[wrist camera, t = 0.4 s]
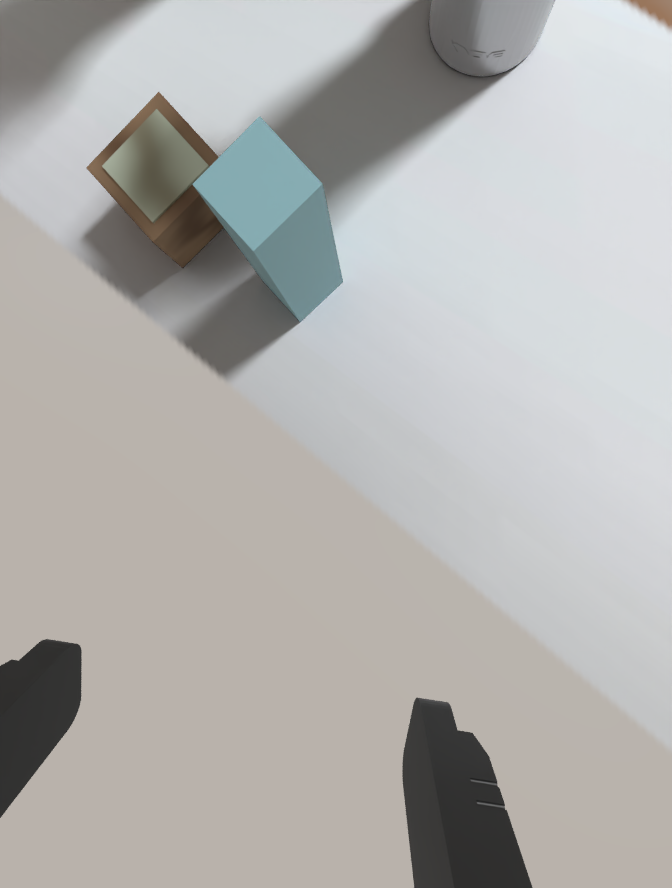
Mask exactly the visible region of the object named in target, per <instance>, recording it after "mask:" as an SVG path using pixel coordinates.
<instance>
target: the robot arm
mask: <svg viewBox="0 0 672 888" xmlns="http://www.w3.org/2000/svg"><path fill="white" fill-rule="evenodd" d="M554 2H555V0H432V2H431V9H430V19H429V29H430V37H431V40H432V43H433V45H434V48H435V50H436V51H437V53H438V54H439V56H440V57H441V59H442V60H444V61H445V62H446V63H447V64H448V65H449V66H450V67H452V68H454V69H455V70H457V71H459V72H461V73H464V74H468V75H472V76H490V75H496V74H499V73H502V72H505V71H507V70H509V69H511V68H513V67H514V66H516V65H518V64H519V63H520V62H521V61H522V60H524V59H525V58H526V57H527V56H528V55H529V53H530V52H531V51H532V50H533V48H534V47H535V46H536V44H537V42H538V40H539V38H540V36H541V34H542V31H543V29H544V26H545V24H546V22H547V19H548V17H549V14H550V12H551V10H552V7H553V5H554ZM80 701H81V647H80V646H79V645H78V644H74V643H68V642H61V641H55V640H48V639H46V640H43V641H41V642H39V643H38V644H37V645H36V646H35V647H33V649H31V650H30V651H29V652H28V653H27V654H26V655H25V656H24V657H22V658H21V659H20V660H19V661H17V660H10V661H9V662H7V663H5V664H3V665H1V666H0V818H1V816H2V815H3V814H4V812H5V811H6V810H7V808H8V807H9V806H10V804H11V803H12V802H13V801H14V799H15V798H16V797H17V795H18V794H19V793H20V792H21V790H22V789H23V788H24V786H25V785H26V784H27V782H28V781H29V780H30V779H31V777H32V776H33V775H34V773H35V772H36V771H37V769H38V768H39V767H40V765H41V764H42V763H43V762H44V760H45V759H46V758H47V756H48V755H49V754H50V753H51V751H52V750H53V749H54V747H55V746H56V745H57V743H58V742H59V741H60V740H61V738H62V737H63V736H64V734H65V733H66V732H67V730H68V729H69V728H70V726H71V724H72V722H73V721H74V719H75V717H76V714H77V712H78V709H79V706H80ZM403 788H404V796H405V805H406V815H407V824H408V834H409V843H410V852H411V861H412V869H413V879H414V888H532V885H531V882H530V879H529V876H528V873H527V870H526V867H525V864H524V861H523V858H522V855H521V852H520V849H519V846H518V843H517V840H516V837H515V834H514V831H513V828H512V825H511V822H510V819H509V816H508V813H507V810H505V807H504V806H505V804H504V801H503V798H502V795H501V792H500V789H499V787H498V786H497V780H496V777H495V774H494V771H493V767H492V764H491V761H490V759H489V756H488V754H487V753H486V752H485V750H484V749H483V747H482V746H481V745H480V743H479V742H478V740H477V739H476V738H475V736H474V735H473V733H470V732H464V731H457V727H456V724H455V720H454V716H453V713H452V709H451V706H450V704H449V703H447V702H442V701H435V700H429V699H422V698H416V699H415V702H414V705H413V710H412V715H411V719H410V724H409V729H408V734H407V739H406V743H405V748H404V755H403Z"/></svg>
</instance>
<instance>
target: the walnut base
mask: <svg viewBox="0 0 672 888" xmlns="http://www.w3.org/2000/svg"><path fill="white" fill-rule="evenodd" d="M218 158H219V157H218V156H217V155H216V154H215V152H214V151H213V150H212V149H211V148H210V147H209V146H208V145H207V144H206V143H205V142H204V140H203V139H202V138H201V137H200V136H199V135H198V134H197V133H196V132H195V131H194V130H193V129H192V127H191V126H190V125H189V124H188V123H187V122H186V121H185V120H184V119H183V118H182V117H181V115H180V114H179V113H178V112H177V111H176V110H175V109H174V108H173V107H172V106H171V105H170V103H169V102H168V101H167V100H166V99H165V98H164V97H163V96H162V95H161V94H160V93H159V92H158V93H157V94H156V95H155V96H154V97H153V98H152V99H151V100H150V102H149V103H148V104H147V105H146V106H145V107H144V108H143V109H142V110H141V111H140V112H139V113H138V114H137V115H136V116H135V117H134V118H133V119H132V120H131V121H130V123H129V124H128V125H127V126H126V127H125V128H124V129H123V130H122V131H121V132H120V133H119V134H118V135H117V136H116V137H115V138H114V139H113V140H112V141H111V142H110V143H109V145H108V146H107V147H106V148H105V149H104V150H103V151H102V152H101V153H100V154H99V155H98V156H97V157H96V158H95V159H94V160H93V161H92V162H91V163H90V164H89V166H88V167H87V169H88V170H89V171H90V173H91V174H92V175H93V176H94V177H95V178H96V179H97V180H98V181H99V183H100V184H101V185H102V186H103V187H104V188H105V189H106V190H107V192H108V193H109V194H110V195H111V196H112V197H113V198H114V199H115V200H116V202H117V203H118V204H119V205H120V206H121V207H122V208H123V209H124V210H125V212H126V213H127V214H128V215H129V216H130V217H131V218H132V219H133V221H134V222H135V223H136V224H137V225H138V226H139V227H140V228H141V229H142V231H143V232H144V233H145V234H146V235H147V236H148V237H149V238H150V240H151V241H152V242H153V243H154V244H156V245H157V246H158V247H159V248H160V249H161V250H162V251H164V252H165V253H166V254H167V255H168V256H169V257H171V258H172V259H173V260H174V261H175V262H176V263H177V264H179V265H180V266H181V267H182V268H183V267H184V266H185V265H186V264H187V263H188V262H189V261H190V260H191V259H192V258H193V257H194V256H195V255H196V254H197V253H198V252H199V251H200V250H201V249H202V248H203V247H204V246H205V245H207V244H208V243H209V242H210V241H211V240H212V239H213V238H214V237H215V236H216V235H217V234H218V233H219V232H220V231H221V230H222V229H223V228H224V227H223V226H222V224H221V223H220V222H219V220H218V219H217V217H216V216H215V215H214V213H213V212H212V211H211V209H210V208H209V206H208V205H207V204H206V202H205V201H204V200H203V198H202V197H201V195H200V194H199V193H198V191H197V190H196V189H195V187H194V186H193V183H194V182H195V181H196V180H197V179H198V178H199V177H200V176H201V175H202V174H203V173H204V172H205V171H206V170H207V169H208V168H209V167H210V166H211V165H212V164H213V163H214V162H215V161H216V160H217V159H218Z"/></svg>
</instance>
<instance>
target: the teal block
mask: <svg viewBox="0 0 672 888" xmlns="http://www.w3.org/2000/svg"><path fill="white" fill-rule="evenodd" d="M193 186H194V187H195V189H196V190H197V191H198V193H199V194H200V195H201V197H202V198H203V200H204V201H205V202H206V204H207V205H208V206H209V208H210V209H211V211H212V212H213V213H214V215H215V216H216V217H217V219H218V220H219V222H220V223H221V224H222V226H223V227H224V228H225V230H226V231H227V233H228V234H229V235H230V237H231V238H232V239H233V241H234V242H235V244H236V245H237V246H238V248H239V249H240V250H241V252H242V253H243V254H244V256H245V257H246V259H247V260H248V261H249V263H250V264H251V265H252V267H253V268H254V270H255V271H256V272H257V274H258V275H259V276H260V278H261V279H262V281H263V282H264V283H265V284H266V285H267V286H268V287H269V288H270V289H271V290H272V292H273V293H274V294H275V295H276V296H277V297H278V298H279V299H280V300H281V301H282V303H283V304H284V305H285V306H286V307H287V308H288V309H289V310H290V311H291V313H292V314H293V315H294V316H295V317H296V318H297V319H298V320H299V321H300V322H301V321H302V320H303V319H304V318H305V317H306V316H307V315H308V314H309V313H311V312H312V311H313V310H314V309H315V308H316V307H317V306H318V305H319V304H320V303H321V302H322V301H323V300H324V299H325V298H326V297H327V296H329V295H330V294H331V293H332V292H333V291H334V290H335V289H336V288H337V287H338V286H339V285H340V284H341V283H342V282H343V279H342V275H341V270H340V265H339V260H338V255H337V251H336V246H335V241H334V236H333V231H332V227H331V222H330V217H329V212H328V207H327V203H326V198H325V193H324V188H323V184H322V183H321V182H320V181H319V179H318V178H317V177H316V176H315V175H314V174H313V173H312V172H311V171H310V170H309V169H308V168H307V167H306V165H305V164H304V163H303V162H302V161H301V160H300V159H299V158H298V157H297V156H296V155H295V154H294V153H293V151H292V150H291V149H290V148H289V147H288V146H287V145H286V144H285V143H284V142H283V141H282V140H281V139H280V138H279V136H278V135H277V134H276V133H275V132H274V131H273V130H272V129H271V128H270V127H269V126H268V125H267V124H266V122H265V121H264V120H263V119H262V118H261V117H260V116H259V117H258V118H257V119H256V120H255V121H254V122H253V123H252V124H251V125H250V126H249V128H248V129H247V130H246V131H245V132H244V133H243V134H242V135H241V136H240V137H239V138H238V139H237V140H236V141H235V142H234V143H233V144H232V145H231V146H230V147H229V148H228V149H227V150H226V151H225V152H224V153H223V154H222V155H221V156H220V157H219V158H218V159H217V160H216V161H215V162H214V163H213V164H212V165H211V166H210V167H209V168H208V169H207V170H206V171H205V172H204V173H203V174H202V175H201V176H200V177H199V178H198V179H197V180H196V181H195V182H194V183H193Z"/></svg>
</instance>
